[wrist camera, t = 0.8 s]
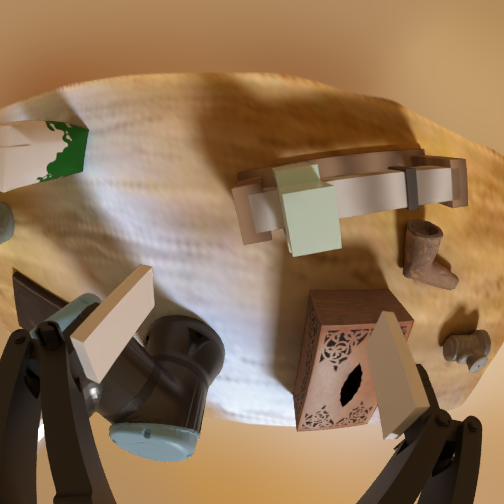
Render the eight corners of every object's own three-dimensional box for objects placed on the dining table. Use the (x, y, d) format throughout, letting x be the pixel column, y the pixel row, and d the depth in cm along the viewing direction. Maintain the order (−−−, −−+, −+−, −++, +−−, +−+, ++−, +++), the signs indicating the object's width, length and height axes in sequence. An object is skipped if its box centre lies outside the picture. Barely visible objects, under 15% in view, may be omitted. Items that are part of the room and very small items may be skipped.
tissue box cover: (309, 289, 42) (321, 325, 33) (388, 289, 42) (414, 320, 33) (292, 394, 51) (296, 431, 42) (356, 390, 51) (367, 423, 42)
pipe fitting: (482, 323, 44) (500, 350, 35) (467, 348, 48) (482, 376, 38) (449, 322, 45) (467, 352, 36) (434, 349, 49) (448, 380, 40)
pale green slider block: (283, 230, 34) (295, 274, 22) (271, 168, 31) (278, 174, 19) (314, 225, 34) (343, 265, 21) (303, 162, 31) (331, 166, 19)
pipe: (455, 303, 38) (484, 258, 33) (393, 281, 36) (426, 223, 31) (441, 283, 43) (466, 241, 38) (380, 259, 42) (408, 207, 37)
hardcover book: (89, 362, 52) (85, 368, 50) (23, 320, 49) (19, 325, 47) (89, 313, 46) (83, 319, 44) (18, 270, 44) (12, 274, 42)
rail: (249, 227, 39) (245, 254, 28) (238, 172, 36) (228, 179, 26) (426, 197, 36) (469, 213, 26) (421, 148, 34) (466, 151, 23)
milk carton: (51, 172, 36) (-34, 194, 18) (58, 122, 33) (-29, 123, 15) (86, 177, 37) (-6, 202, 18) (94, 123, 34) (1, 118, 15)
